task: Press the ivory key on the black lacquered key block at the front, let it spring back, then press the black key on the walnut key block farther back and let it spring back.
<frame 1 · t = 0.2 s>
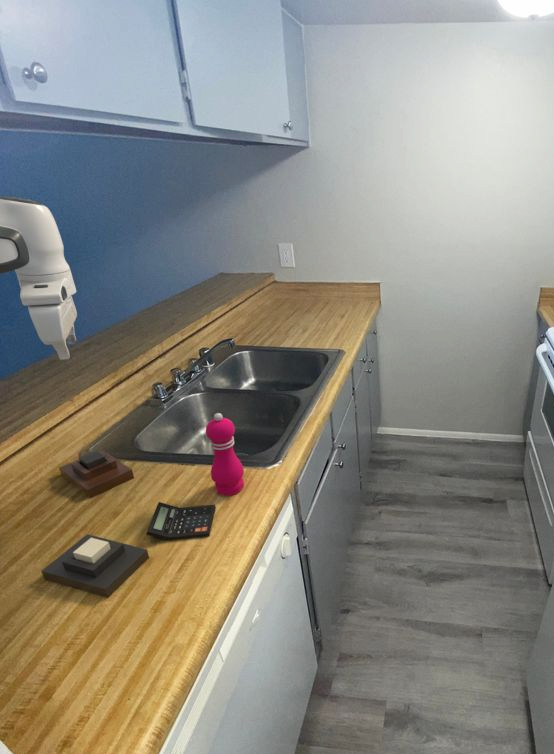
hand: (68, 350, 101), 31 cm above the worktop, tool pointing down, fingers open, 8 cm apart
calculator: (183, 525, 100), on the worktop
pepper mill: (230, 488, 112), on the worktop
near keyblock: (98, 568, 89), on the worktop
far key: (92, 459, 111), point 5 cm above the worktop, slide at 0.1 cm
near key: (92, 550, 87), point 4 cm above the worktop, slide at 0.1 cm
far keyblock: (98, 477, 113), on the worktop
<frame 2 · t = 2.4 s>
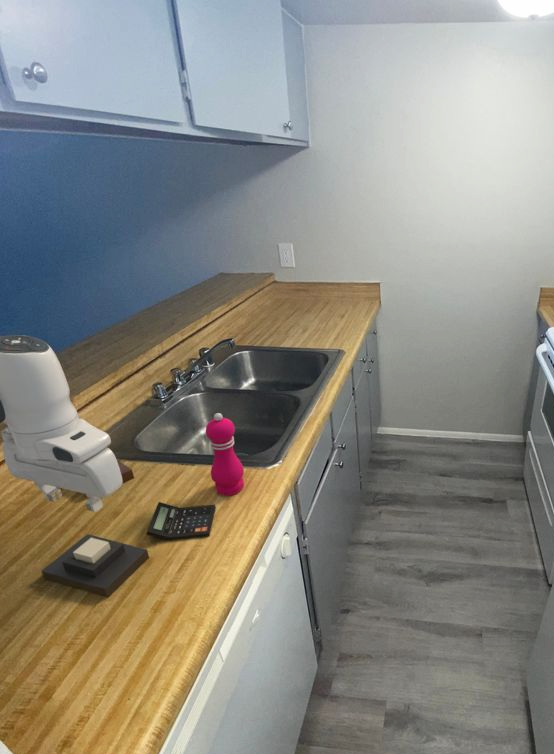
hand: (75, 504, 82), 15 cm above the worktop, tool pointing down, fingers open, 7 cm apart
nothing on the worktop moved.
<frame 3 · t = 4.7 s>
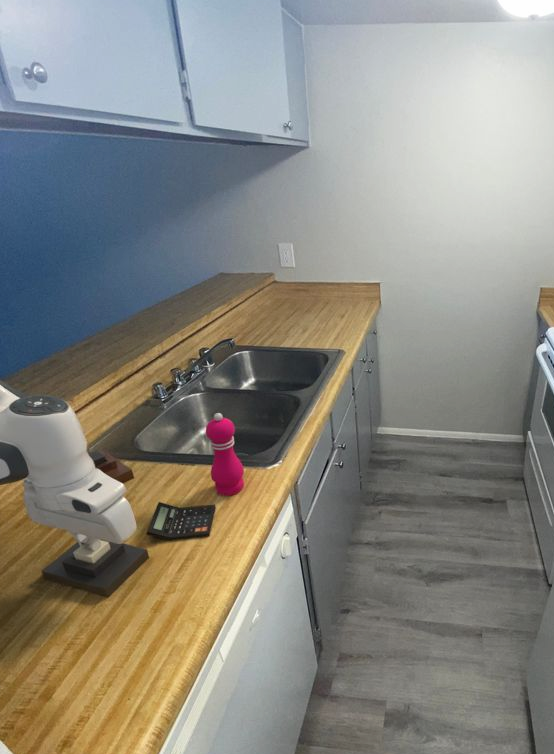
hand: (91, 547, 86), 5 cm above the worktop, tool pointing down, fingers closed, pressing on near key
near key: (92, 550, 87), point 4 cm above the worktop, slide at 0.0 cm, touching gripper
everything else where it was.
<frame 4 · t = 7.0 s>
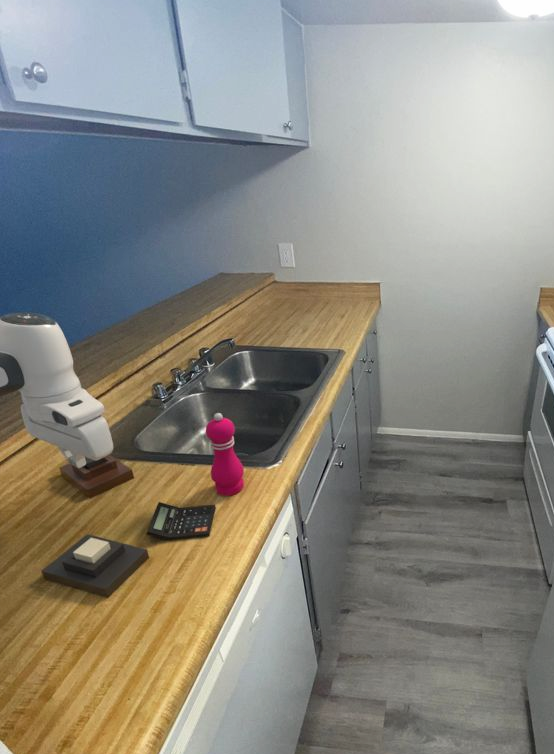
hand: (77, 464, 92), 15 cm above the worktop, tool pointing down, fingers closed
near key: (92, 550, 87), point 4 cm above the worktop, slide at 0.1 cm
everything else where it was.
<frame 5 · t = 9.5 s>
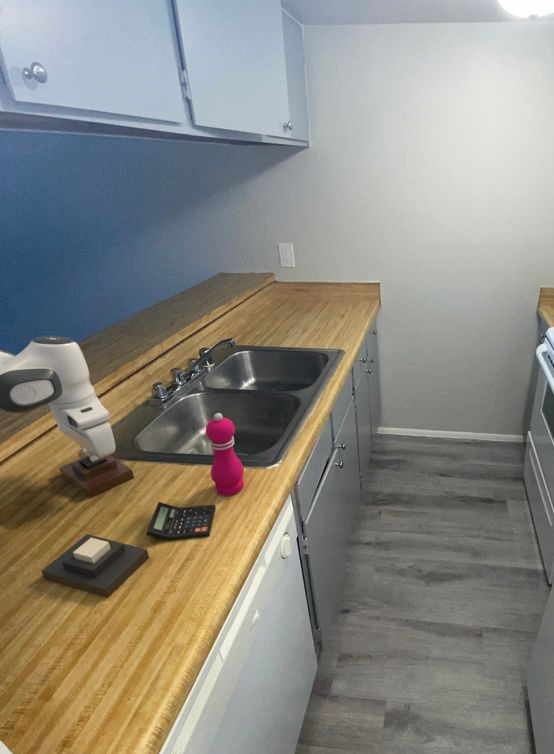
hand: (92, 458, 111), 5 cm above the worktop, tool pointing down, fingers closed, pressing on far key
far key: (93, 461, 111), point 4 cm above the worktop, slide at -0.5 cm, touching gripper
everything else where it was.
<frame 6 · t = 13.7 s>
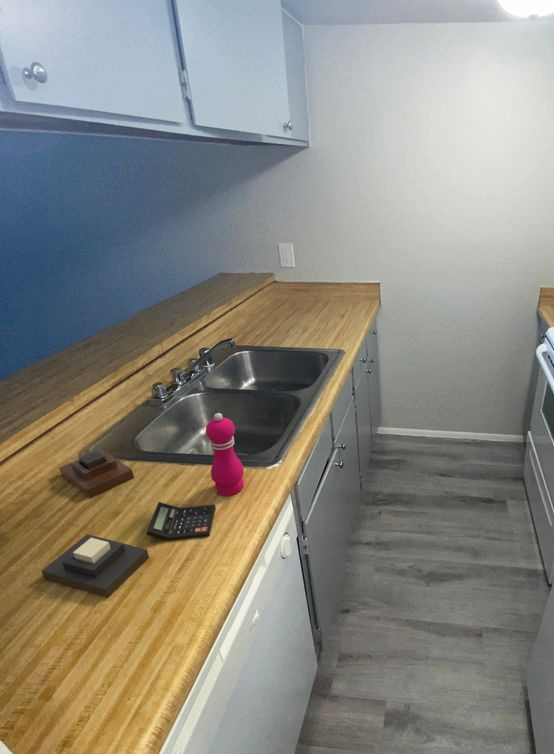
far key: (92, 459, 111), point 5 cm above the worktop, slide at 0.1 cm
everything else where it was.
at the end: near key pushed in 1.1 cm at the most during the clip, back to where it started at the end; far key pushed in 1.3 cm at the most during the clip, back to where it started at the end; far key slide at 0.1 cm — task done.
